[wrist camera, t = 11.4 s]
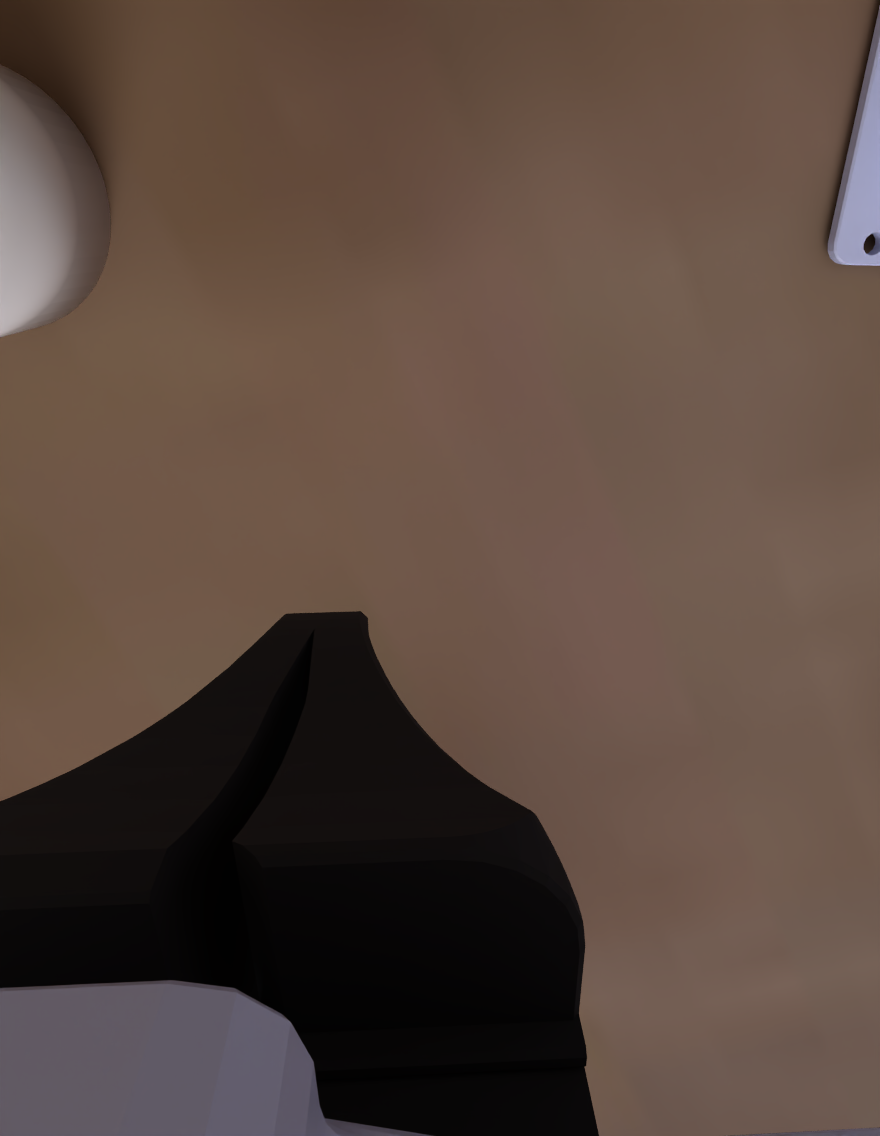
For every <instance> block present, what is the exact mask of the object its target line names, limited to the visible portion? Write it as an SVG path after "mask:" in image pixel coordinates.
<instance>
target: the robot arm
mask: <svg viewBox="0 0 880 1136" xmlns="http://www.w3.org/2000/svg"><path fill="white" fill-rule="evenodd" d="M870 234H873V235H874V237H875V246H874V248H873V250H871V251H870V252H869V253H868V254H866V253H865V251H864V242H865V240H866V238H867V237H868V236H869V235H870ZM828 253H829V256H830V258H831V259H832V260H833V261H834V262H835V263H838V264H843V265H875V266H880V7H879V12H878V16H877V21H876V25H875V30H874V35H873V39H872V44H871V48H870V53H869V57H868V62H867V67H866V71H865V76H864V80H863V85H862V89H861V94H860V99H859V103H858V108H857V112H856V117H855V121H854V126H853V131H852V135H851V140H850V144H849V149H848V153H847V158H846V163H845V167H844V172H843V176H842V181H841V185H840V190H839V195H838V199H837V204H836V208H835V213H834V217H833V222H832V227H831V231H830V236H829V240H828ZM584 953H585V936H584V926H583V920H582V916H581V912H580V909H579V905H578V902H577V900H576V897H575V894H574V892H573V889H572V887H571V884H570V882H569V879H568V877H567V874H566V872H565V870H564V867H563V865H562V863H561V861H560V859H559V857H558V855H557V853H556V851H555V849H554V847H553V845H552V843H551V841H550V839H549V837H548V836H547V834H546V832H545V830H544V828H543V826H542V825H541V823H540V821H539V819H538V818H537V816H536V815H535V814H534V813H533V812H532V811H531V810H529V809H527V808H525V807H524V806H522V805H520V804H518V803H516V802H515V801H513V800H511V799H509V798H508V797H506V796H504V795H502V794H501V793H499V792H497V791H495V790H494V789H492V788H490V787H488V786H487V785H485V784H484V783H482V782H481V781H480V780H478V779H477V778H475V777H474V776H473V775H471V774H470V773H469V772H467V771H466V770H465V769H464V768H462V767H461V766H460V765H459V764H458V763H457V762H456V761H455V760H453V759H452V758H451V757H450V756H449V755H448V754H447V753H446V752H444V751H443V750H442V749H441V748H440V747H439V746H438V745H437V744H436V743H435V742H434V741H433V740H432V738H431V737H430V736H429V735H428V734H427V733H426V732H425V731H424V730H423V729H422V727H421V726H420V725H419V724H418V723H417V721H416V720H415V719H414V718H413V716H412V715H411V714H410V712H409V711H408V710H407V708H406V707H405V705H404V704H403V703H402V701H401V700H400V698H399V697H398V695H397V693H396V692H395V690H394V689H393V687H392V686H391V684H390V682H389V680H388V678H387V677H386V675H385V673H384V671H383V669H382V667H381V665H380V663H379V661H378V659H377V657H376V654H375V652H374V649H373V647H372V644H371V641H370V638H369V632H368V618H367V617H366V616H365V615H364V614H363V613H362V612H361V611H357V612H326V613H294V614H285V615H284V616H283V617H282V618H281V619H280V620H278V621H277V622H276V623H275V624H274V625H273V626H272V627H271V628H270V629H269V630H268V631H267V632H266V633H265V634H264V635H263V636H262V637H261V638H260V639H259V640H258V641H257V642H256V643H255V644H254V645H253V646H251V647H250V648H249V649H248V650H247V651H246V652H245V653H244V654H243V655H242V656H241V657H240V658H238V659H237V660H236V661H235V662H234V663H233V664H232V665H231V666H230V667H229V668H227V669H226V670H225V671H224V672H223V673H221V674H220V675H219V676H218V677H216V678H215V679H214V680H213V681H212V682H210V683H209V684H208V685H207V686H205V687H204V688H203V689H202V690H200V691H199V692H198V693H197V694H196V695H194V696H193V697H192V698H191V699H189V700H188V701H187V702H185V703H184V704H183V705H181V706H180V707H178V708H177V709H176V710H174V711H173V712H171V713H170V714H168V715H167V716H166V717H164V718H163V719H161V720H159V721H158V722H156V723H155V724H153V725H152V726H150V727H149V728H147V729H146V730H144V731H142V732H141V733H139V734H138V735H136V736H134V737H133V738H131V739H129V740H127V741H126V742H124V743H122V744H120V745H118V746H116V747H114V748H113V749H111V750H109V751H107V752H105V753H103V754H102V755H100V756H98V757H96V758H94V759H92V760H90V761H89V762H87V763H85V764H83V765H81V766H79V767H77V768H75V769H73V770H71V771H69V772H67V773H65V774H63V775H60V776H58V777H56V778H54V779H52V780H50V781H48V782H45V783H43V784H41V785H39V786H36V787H34V788H32V789H29V790H27V791H24V792H22V793H20V794H17V795H15V796H13V797H10V798H8V799H5V800H3V801H0V1136H599V1134H598V1129H597V1125H596V1120H595V1115H594V1110H593V1106H592V1101H591V1096H590V1091H589V1087H588V1082H587V1077H586V1073H585V1068H584V1066H586V1061H587V1054H586V1045H585V1040H584V1036H583V1031H582V1027H581V1022H580V1017H579V1005H580V994H581V984H582V974H583V964H584ZM730 1136H880V1127H879V1128H860V1129H842V1130H823V1131H805V1132H786V1133H768V1134H749V1135H730Z"/></svg>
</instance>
